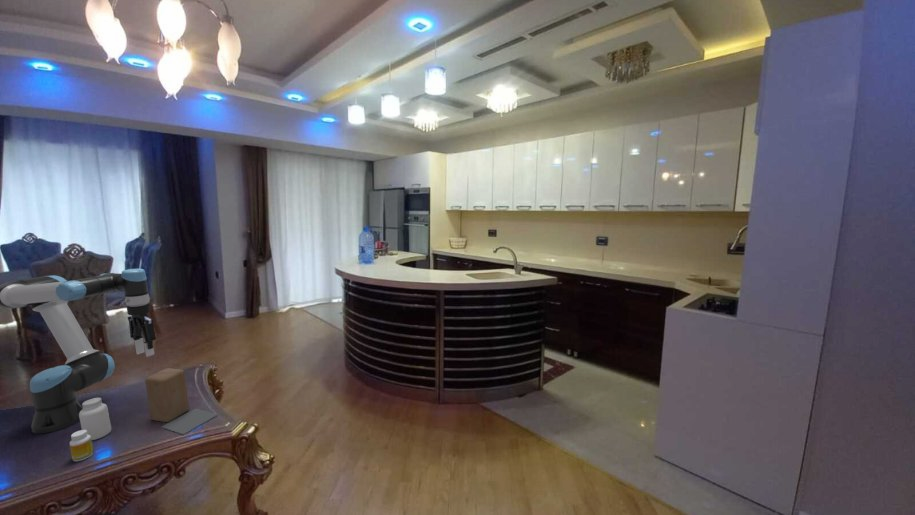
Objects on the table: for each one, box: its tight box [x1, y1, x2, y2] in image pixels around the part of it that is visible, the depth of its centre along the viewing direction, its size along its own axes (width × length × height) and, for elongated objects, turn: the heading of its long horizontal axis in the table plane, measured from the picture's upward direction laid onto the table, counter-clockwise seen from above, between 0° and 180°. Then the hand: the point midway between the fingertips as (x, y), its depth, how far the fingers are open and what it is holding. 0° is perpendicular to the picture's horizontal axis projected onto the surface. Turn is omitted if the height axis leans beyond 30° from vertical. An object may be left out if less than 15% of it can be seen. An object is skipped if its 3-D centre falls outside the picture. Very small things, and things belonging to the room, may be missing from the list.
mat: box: [160, 407, 218, 436], centre depth 150 cm, size 14×14×1 cm
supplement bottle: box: [69, 429, 94, 462], centre depth 128 cm, size 5×5×10 cm
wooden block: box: [144, 367, 190, 423], centre depth 152 cm, size 10×10×20 cm
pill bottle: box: [79, 397, 112, 441], centre depth 140 cm, size 8×8×15 cm
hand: (145, 354), depth 154 cm, fingers open, 6 cm apart
